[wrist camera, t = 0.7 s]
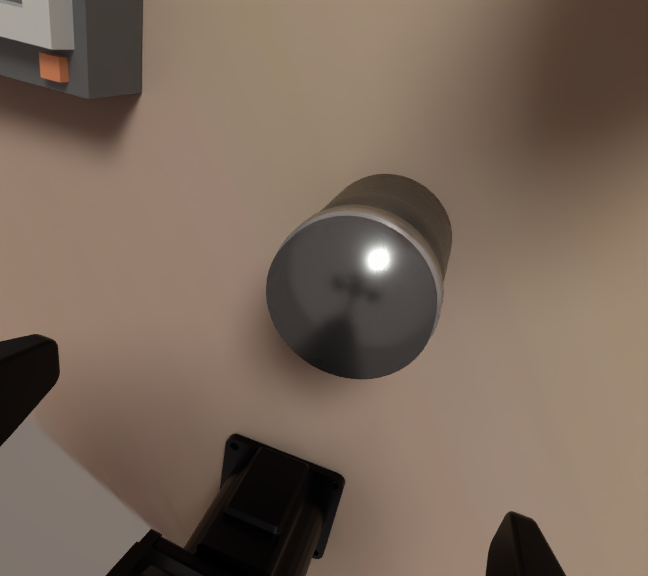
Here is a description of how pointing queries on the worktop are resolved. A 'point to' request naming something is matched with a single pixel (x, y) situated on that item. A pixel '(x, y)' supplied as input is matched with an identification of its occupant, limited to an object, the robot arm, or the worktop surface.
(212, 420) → the worktop surface
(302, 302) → the metal can
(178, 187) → the worktop surface
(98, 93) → the grey recessed tray
